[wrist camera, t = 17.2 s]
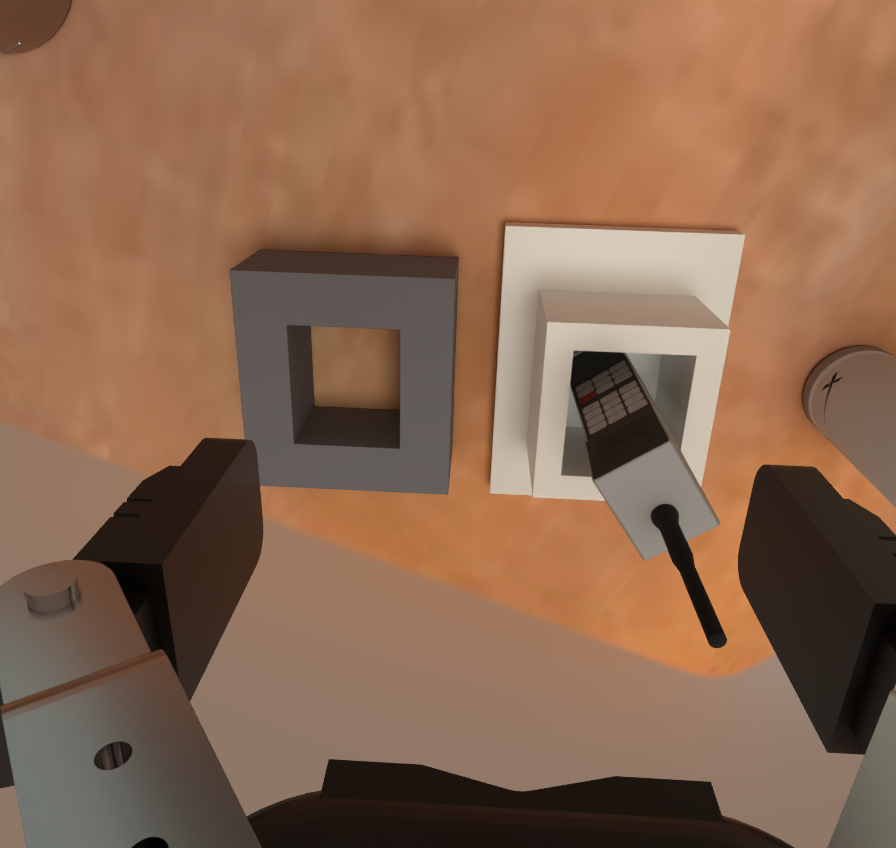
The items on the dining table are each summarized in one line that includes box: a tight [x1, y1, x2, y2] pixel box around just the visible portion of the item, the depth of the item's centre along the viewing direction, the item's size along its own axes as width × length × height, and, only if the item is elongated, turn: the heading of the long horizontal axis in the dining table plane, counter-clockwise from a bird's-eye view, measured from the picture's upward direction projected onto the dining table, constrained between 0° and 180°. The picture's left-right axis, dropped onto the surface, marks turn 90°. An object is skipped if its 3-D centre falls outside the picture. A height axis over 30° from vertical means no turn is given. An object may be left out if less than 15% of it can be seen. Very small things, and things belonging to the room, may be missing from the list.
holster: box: [230, 250, 459, 495], centre depth 47 cm, size 14×12×6 cm
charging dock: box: [490, 222, 745, 501], centre depth 45 cm, size 18×14×8 cm
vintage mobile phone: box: [570, 351, 727, 648], centre depth 36 cm, size 4×5×25 cm
